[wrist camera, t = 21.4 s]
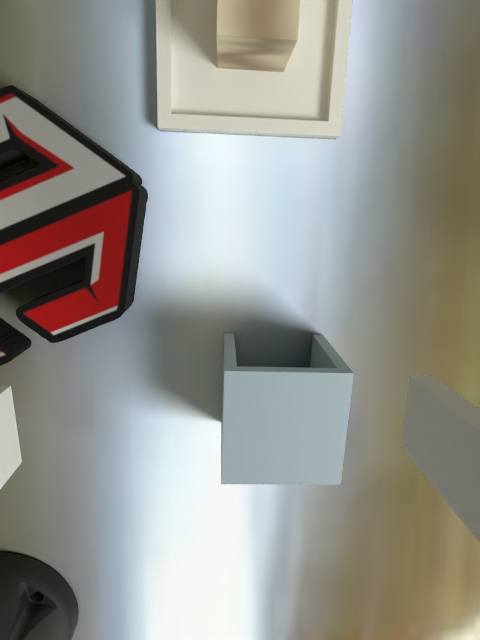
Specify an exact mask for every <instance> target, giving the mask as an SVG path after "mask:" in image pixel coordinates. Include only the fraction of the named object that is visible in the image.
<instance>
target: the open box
mask: <svg viewBox="0 0 480 640" xmlns="http://www.w3.org/2000/svg"><path fill="white" fill-rule="evenodd" d="M353 375H354V373H353V372H352V371H351V369H350V368H349V367H348V366H347V364H346V363H345V362H344V361H343V360H342V358H341V357H340V356H339V355H338V353H337V352H336V351H335V350H334V348H333V347H332V346H331V345H330V343H329V342H328V341H327V340H326V339H325V337H324V336H323V335H313V337H312V349H311V360H310V368H298V367H244V366H237V360H236V350H235V339H234V333H224V349H223V385H222V422H221V484H337V485H341V477H342V469H343V460H344V452H345V443H346V435H347V426H348V418H349V409H350V400H351V392H352V383H353Z"/></svg>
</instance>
